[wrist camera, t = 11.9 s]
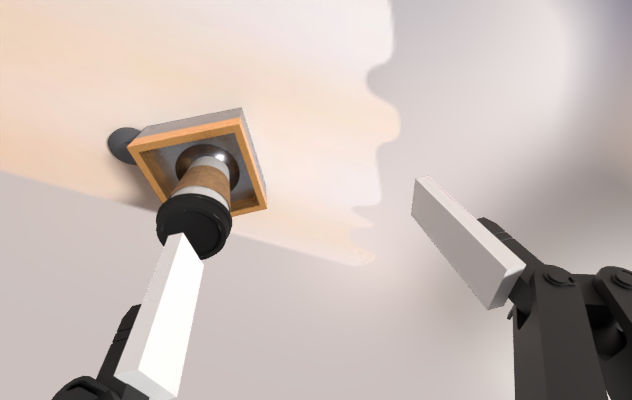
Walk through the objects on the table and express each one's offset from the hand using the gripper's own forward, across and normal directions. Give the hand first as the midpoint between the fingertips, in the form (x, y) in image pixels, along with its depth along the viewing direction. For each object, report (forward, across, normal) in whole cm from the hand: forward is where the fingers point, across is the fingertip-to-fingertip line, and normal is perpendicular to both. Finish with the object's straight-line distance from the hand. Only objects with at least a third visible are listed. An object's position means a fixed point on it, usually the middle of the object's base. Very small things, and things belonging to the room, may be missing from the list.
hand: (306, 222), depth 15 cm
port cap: (+33, -24, -4) cm, 41 cm away
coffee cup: (+28, -13, -9) cm, 32 cm away
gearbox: (+33, -13, -9) cm, 36 cm away
